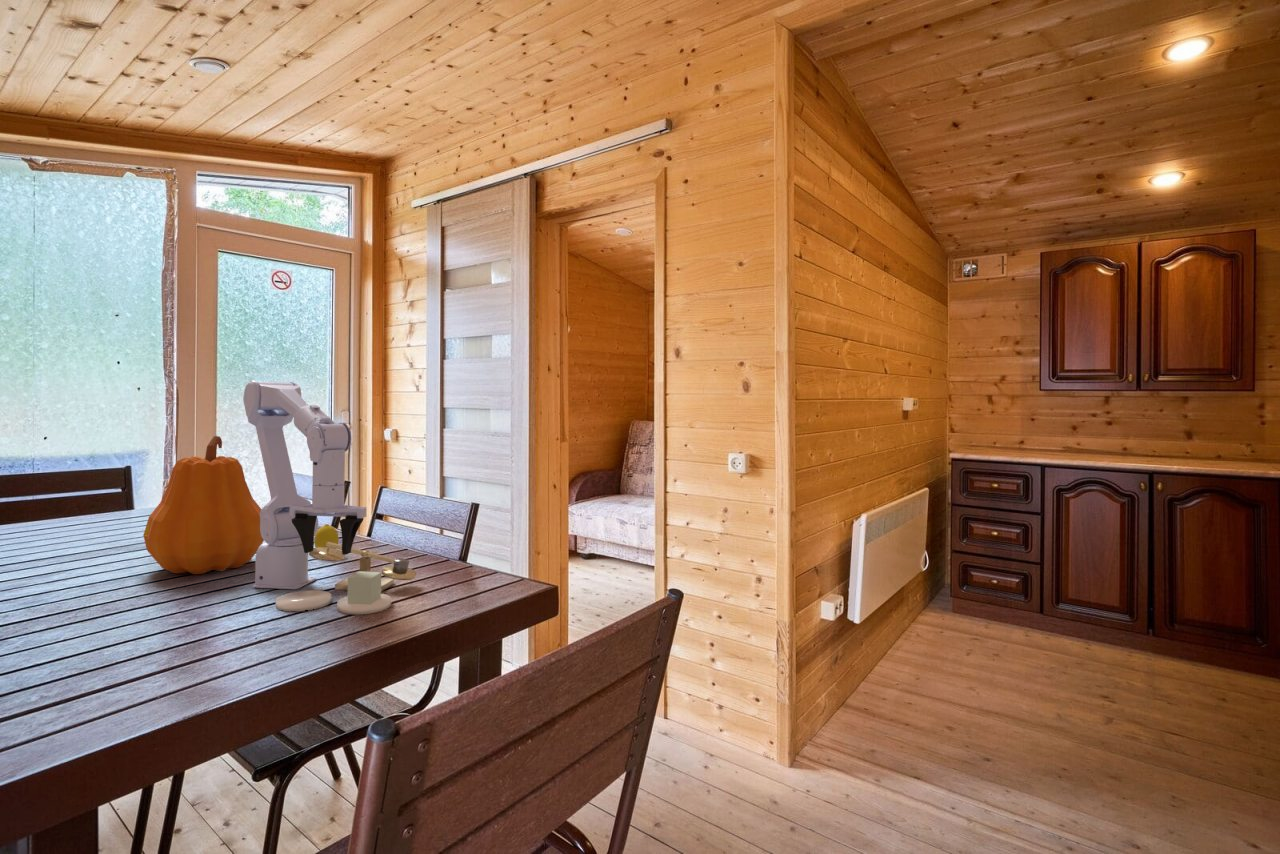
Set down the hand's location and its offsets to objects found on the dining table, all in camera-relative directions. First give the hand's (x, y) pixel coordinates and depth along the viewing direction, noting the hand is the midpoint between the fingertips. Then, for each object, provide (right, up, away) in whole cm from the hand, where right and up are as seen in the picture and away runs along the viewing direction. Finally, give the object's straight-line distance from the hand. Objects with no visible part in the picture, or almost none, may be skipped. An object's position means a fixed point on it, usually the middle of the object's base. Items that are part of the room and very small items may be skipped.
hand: (327, 552), depth 131 cm
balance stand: (+3, -9, +10) cm, 14 cm away
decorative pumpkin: (-37, -8, +21) cm, 44 cm away
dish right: (+9, -10, -3) cm, 13 cm away
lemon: (-17, -8, +35) cm, 40 cm away
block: (+9, -9, -3) cm, 13 cm away
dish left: (-3, -9, -2) cm, 10 cm away
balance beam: (+3, -4, +10) cm, 11 cm away
